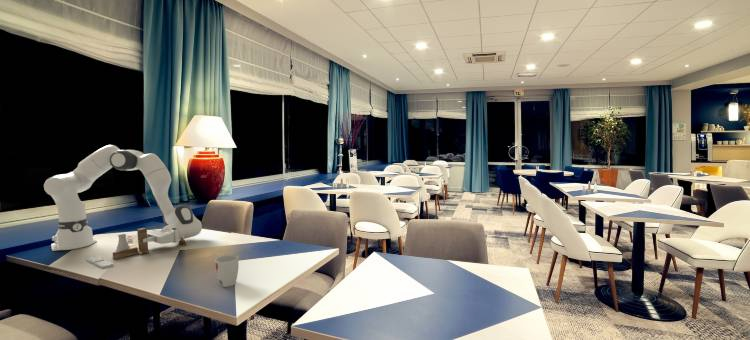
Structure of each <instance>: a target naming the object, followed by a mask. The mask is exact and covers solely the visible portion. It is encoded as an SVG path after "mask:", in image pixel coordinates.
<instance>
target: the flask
mask: <svg viewBox="0 0 750 340" xmlns="http://www.w3.org/2000/svg"><path fill="white" fill-rule="evenodd" d="M117 237H118V242H117V246H116V249H115V252H117V251H121V250H126V249H130V247H129V245H130V244H129V243H128V241H127V239H126V238H127V234H126V233H122V234H118V235H117Z"/></svg>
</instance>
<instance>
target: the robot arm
mask: <svg viewBox="0 0 750 340" xmlns="http://www.w3.org/2000/svg"><path fill="white" fill-rule="evenodd" d="M113 168H114V169H115V170H117V171H118V170H119V171H127V172H128V171H140V172H141V173H142V175H143V176H144V178H145V179H146V182H147V183H148V185H149V187H150V189H151V193H152V195H153V198H154V200H155V203H156V204H157V207H158V208H159V210H160V212H161V214H162V221H163V225H164V226H163V228H162V229H159V228H157V229H156V228H155V229H150V230H147V238H143V239H142V242H153V243H156V244H160V245H164V244H165V245H166V244H170V243H179V242H180V240H182V239H181V238H182V237H183V236H184V240H186V239H190V238H192V237H196V236H198V235H199V234H200V233H201V232H202V229H203V224H202V222H201V220H199V219H198V218H197V217H196V216H195V215H194V213H193V210H192V208H191V207H190V206H188V205H187V204H179V205H177V206H176V207H174V206H173V204H172V202H171V199H170V197H169V189H170V185H171V182H172V177H171V173H170V171H169V170H168V168H167V167H166V165H165V163H164V162H163V161H162V159H160V157H159V156H158V155H157V154H155V153H146V152H144V151H140V150H135V149H120V148H119V147H118V146H117V145H114V144H108V145H105V146H103V147H101V148H99V149H97V150H96V151H94V152H93V153H91V154H89V155H88V156H86V157H85V158H84V159H82V160H81V161H80V162H78V164H77V167H76V168H75V169H73V171H70V172H68V173H62V174H56V175H53V176H51V177H48V178H47V179H46V180H45V182H44V184H43V188H44V189H43V190H44V191H45V193H46V194H47V195H49V196H51V198H52V199H53V201H54V203H55V205H56V207H57V214H58V222H57V229H58V230H57V232H56V234H55V235H54V236H52V237H51V241H54V242H53V243H51V245H50V247H51V251H52V252H53V251H54V252H55V251H68V250H69V251H70V250H76V249H82V248H84V247H85V248H86V247H88V246H91V245H92V244H94V243H97V242H98V239H94V236H93V235H94V234H93V228H92V227H90V226H88V225H89V221H88V218H87V214H86V213H87V212H86V205H85V203H84V202H82V201H81V199H80V197H79V193H82V192H84V191H87V190H89V189H90V188H91V187H92V185H93V184H94V182H95V181H96V180H97V179H99V177H101V176H103V174H105V173H106V172H108V171H109V170H111V169H113Z"/></svg>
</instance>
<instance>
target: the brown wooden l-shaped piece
mask: <svg viewBox="0 0 750 340" xmlns="http://www.w3.org/2000/svg"><path fill="white" fill-rule="evenodd" d="M147 231H148V230H147V227H142V228H141V227H140V228H137V229H136V232H137V234H136V235H137V244H138V245H135V244H128V245H129V247H130V249H126V250H121V251H117V252H116V251H113V252H112V253H111V254H112V259H113V260H117V259H121V258H126V257H129V256H133V255H138V254H139V255H143V254H144V255H145V254H148V253H150V252H151V251H150V249H149V243H148V242H142V239H143V238H147Z"/></svg>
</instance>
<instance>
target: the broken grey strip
mask: <svg viewBox="0 0 750 340" xmlns="http://www.w3.org/2000/svg"><path fill="white" fill-rule="evenodd" d="M85 261H86V262H88V263H91V264H92V265H94V266H96V267H97V268H98V267H99V268H101V269H107V268H112V267H114V263H113V262H110V261H108V260H106V259H105V260H104V259H103V258H102V257H99V256H97V255H95V256H92V257H88V258H85Z"/></svg>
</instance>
